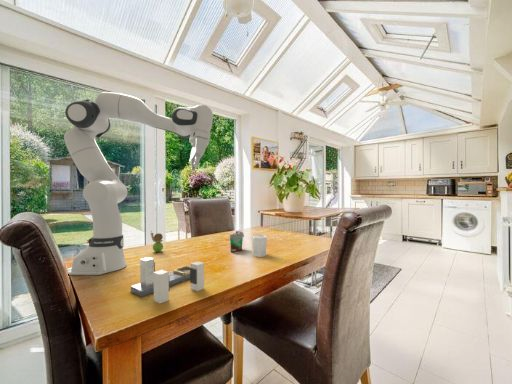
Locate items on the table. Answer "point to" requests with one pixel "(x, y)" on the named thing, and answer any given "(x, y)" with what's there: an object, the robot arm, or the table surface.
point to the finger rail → (151, 288)
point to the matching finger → (197, 276)
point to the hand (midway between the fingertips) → (194, 168)
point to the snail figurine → (157, 242)
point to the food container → (236, 241)
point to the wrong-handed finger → (161, 286)
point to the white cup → (259, 245)
